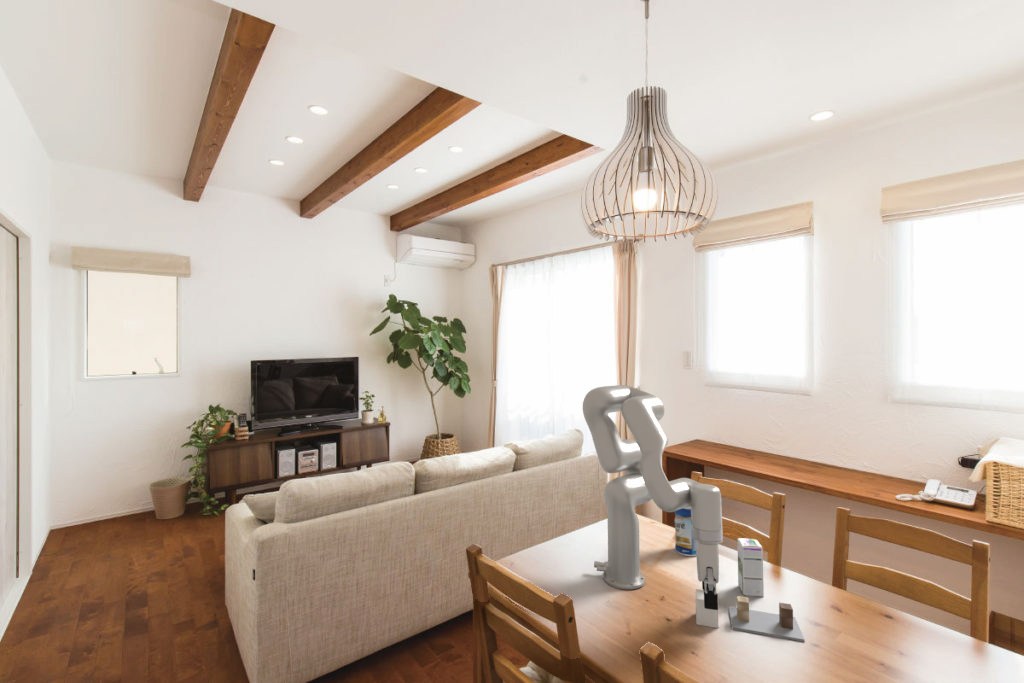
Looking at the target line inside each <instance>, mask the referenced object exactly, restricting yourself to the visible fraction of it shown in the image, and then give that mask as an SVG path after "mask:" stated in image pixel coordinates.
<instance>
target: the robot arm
mask: <svg viewBox="0 0 1024 683" xmlns="http://www.w3.org/2000/svg"><path fill="white" fill-rule="evenodd" d="M618 412H620V413H621V415H622V417H623V420H624V422H625V423H626V425H627V428H628V429H629V431H630V433H631V436H632V437H633V438H634V440H633V439H629V438H626V439H622V438H621V436H620V434H619V429H618V427H617V425H616V423H615V422H614V420H613V419H612V418H611V417H610V416H609V414H610V413H618ZM582 413H583V417H584V420H585V422H586V425H587V426H588V429H589V431H590V434H591V438H592V441H593V445H594V448H595V453H596V454H597V458H598V462H599V465H600V467H601V468H602V470H603V471H604V472H605V473H607V474H617V473H622V472H625V475H621V476H618V477H615V478H613V479H611V480H610V481H608V482H607V483H606V484H605V486H604V487H605V488H604V492H603V495H604V501H605V506H606V513H607V515H606V516H607V561H600V560H599V561H598V560H594V562H593V568H596V571H598V572H602V579H603V581H604V582H605V583H606V584H608V585H609V586H610V587H613V588H616V589H620V590H637V589H639V588H641V587H644V585H645V583H646V578H645V576H644V574H643V573H642V572H641V570H640V568H641V567H640V564H641V563H640V522H639V517H638V515H637V514H636V510H635V508H636V507H637V506H640V505H643V504H646V503H648V502H650V501H651V500H652V501H653V502H654V504H655V505H656V506H657V507H658V508H659V509H660V510H661V511H663V512H666V513H675V511H677V510H679V509H682V508H685V507H690V506H691V519H692V538H693V539H694V540H695V541H696V554H697V556H696V570H697V579H698V581H699V582H701V585H702V589H701V590H705V592H704V607H705V608H706V609H712V610H718V611H719V598H718V597H719V596H718V593H717V584H719V581H720V580H719V579H720V577H719V576H720V575H719V574H720V571H719V570H720V558H719V556H720V555H719V553H720V552H719V544H722V543H723V542H724V534H723V533H724V532H723V531H724V530H723V513H722V512H723V510H722V493H721V490H720V488H719V487H718V486H716V485H714V484H710V483H709V484H708V483H701V482H698V481H696V480H694V479H692V478H688V477H680V478H676V479H673V480H668V478H667V476H666V474H665V472H664V469H663V465H662V456H663V453H664V452H665V449H666V448H667V446H668V445H669V439H668V437H667V435H666V433H665V432H664V429H663V428H662V427H661V424H660V422H659V421H661V420H662V419H663V417H664V415H665V407H664V404H663V401H661V399H660V398H658V397H657V396H656V395H653V394H652V393H649V392H646V391H644V390H641V389H638V388H635V387H633V386H630V385H626V384H620V385H618V384H617V385H616V384H615V385H605V386H598V387H595V388H593V389H591V390H589V391H588V392H587V393H586V394H585V397H584V399H583V401H582Z"/></svg>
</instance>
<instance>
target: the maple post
mask: <svg viewBox="0 0 1024 683" xmlns="http://www.w3.org/2000/svg"><path fill="white" fill-rule="evenodd" d="M736 608H737V617H738V620H740V621H746V622H749V610H750V601H749V598H748V597H746V596H740V595H739V596H738V595H737V596H736Z"/></svg>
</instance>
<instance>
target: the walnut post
mask: <svg viewBox="0 0 1024 683" xmlns="http://www.w3.org/2000/svg"><path fill="white" fill-rule="evenodd" d="M778 609H779V610H778V613H779V622H780V625H781V628H787V629H793V617H794V609H793V607H792V605H791V603H784V602H778Z"/></svg>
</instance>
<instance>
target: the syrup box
mask: <svg viewBox="0 0 1024 683" xmlns="http://www.w3.org/2000/svg"><path fill="white" fill-rule="evenodd" d="M736 541H737V584H738V587H739V589H740V592H741V594H742V595H744V596H750V597H758V598H759V597H763V598H764V596H765V595H764V593H765V592H764V586H765V585H764V556H763V555H764V554H763V552H764V551H763V546H762V545H761V544H760V542H759V541H758V539H756V538H748V537H744V538H743V537H739V538H737V540H736Z"/></svg>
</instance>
